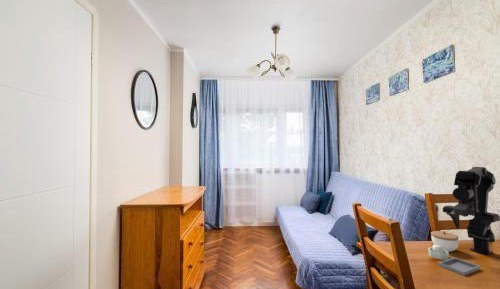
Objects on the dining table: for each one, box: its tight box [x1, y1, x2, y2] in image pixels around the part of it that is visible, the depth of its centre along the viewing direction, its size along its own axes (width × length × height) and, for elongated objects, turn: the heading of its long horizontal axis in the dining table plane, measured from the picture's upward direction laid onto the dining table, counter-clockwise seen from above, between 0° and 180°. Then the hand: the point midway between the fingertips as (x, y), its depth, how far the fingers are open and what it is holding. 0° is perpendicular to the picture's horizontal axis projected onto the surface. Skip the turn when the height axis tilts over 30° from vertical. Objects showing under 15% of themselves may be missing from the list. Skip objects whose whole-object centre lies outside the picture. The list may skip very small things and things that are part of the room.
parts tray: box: [438, 256, 481, 277], centre depth 99 cm, size 12×9×2 cm
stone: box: [432, 244, 444, 254], centre depth 109 cm, size 4×4×4 cm
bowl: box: [427, 246, 450, 261], centre depth 109 cm, size 8×8×3 cm
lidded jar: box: [430, 230, 459, 252], centre depth 117 cm, size 11×11×9 cm
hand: (470, 231), depth 106 cm, fingers open, 9 cm apart
